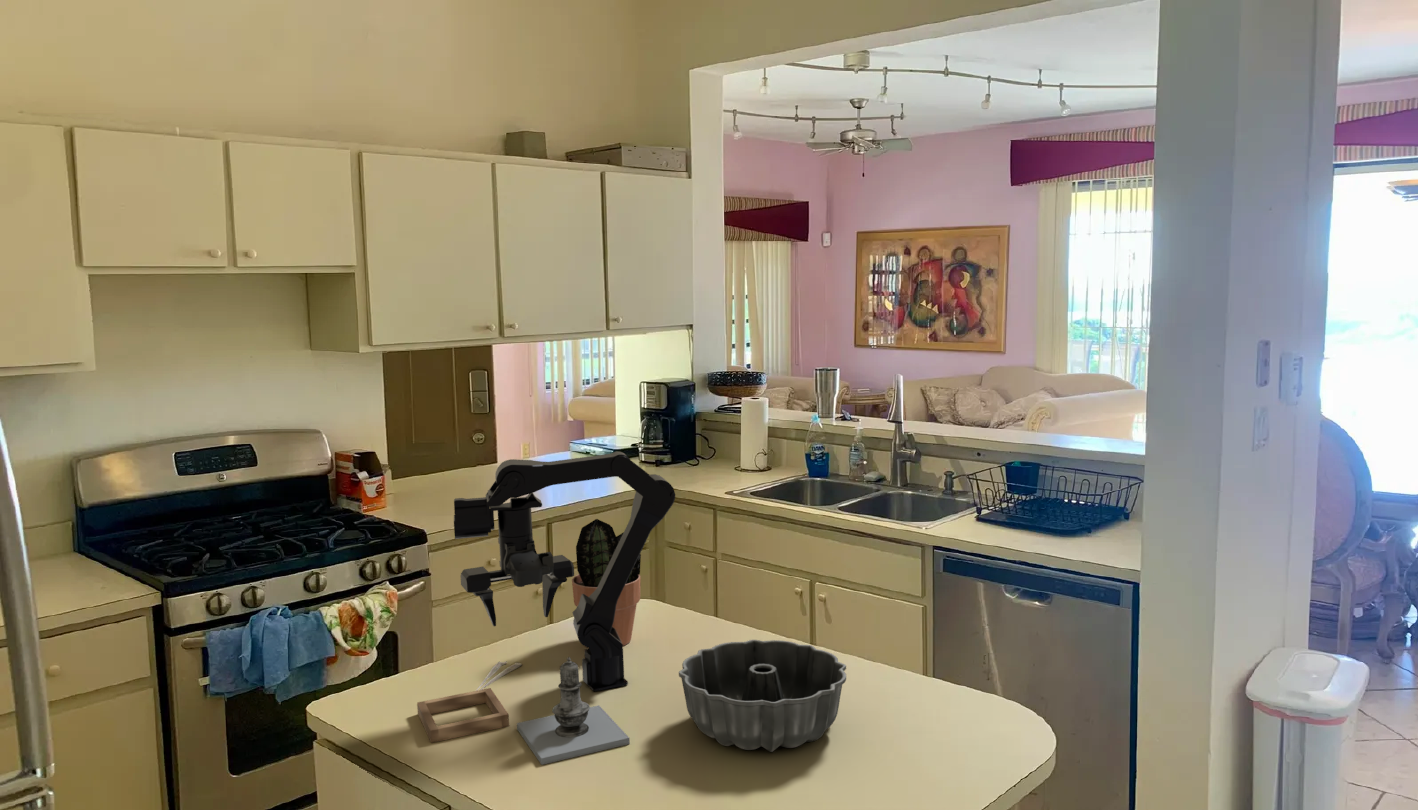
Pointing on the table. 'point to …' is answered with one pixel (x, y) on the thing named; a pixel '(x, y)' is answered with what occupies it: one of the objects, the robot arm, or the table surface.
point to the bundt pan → (763, 692)
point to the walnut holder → (467, 726)
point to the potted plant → (591, 565)
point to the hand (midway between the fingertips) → (520, 621)
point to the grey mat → (559, 748)
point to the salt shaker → (570, 703)
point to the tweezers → (499, 673)
